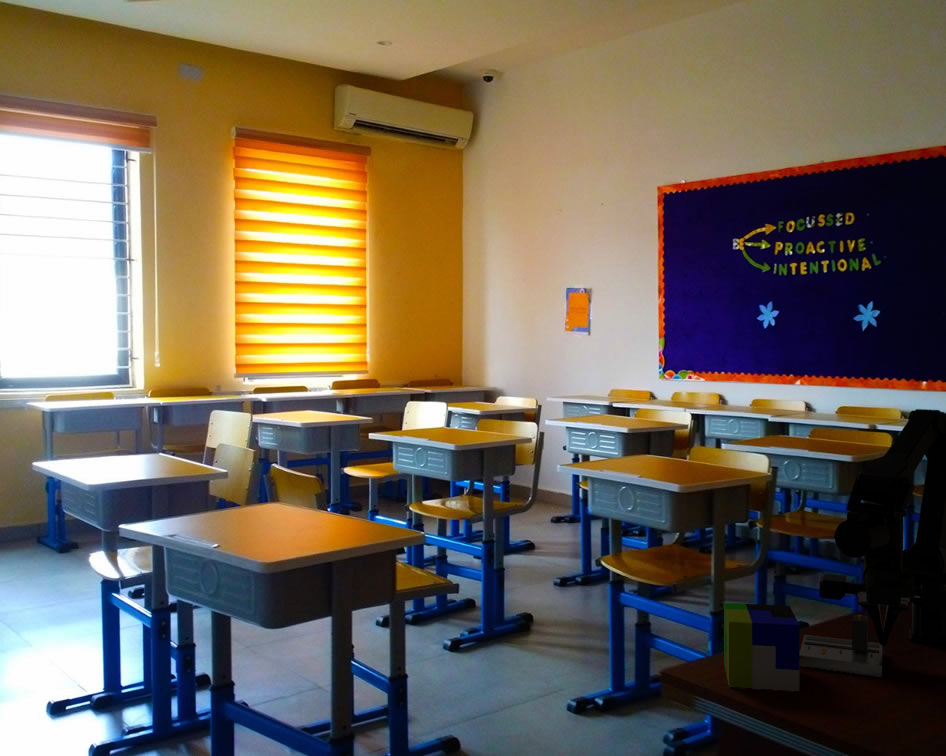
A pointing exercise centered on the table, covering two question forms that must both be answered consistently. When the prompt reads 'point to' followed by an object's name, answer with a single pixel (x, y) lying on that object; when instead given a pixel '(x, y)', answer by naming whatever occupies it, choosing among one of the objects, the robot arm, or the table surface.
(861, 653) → the console plate
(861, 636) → the fader knob
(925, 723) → the table surface
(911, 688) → the table surface
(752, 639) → the puzzle toy
